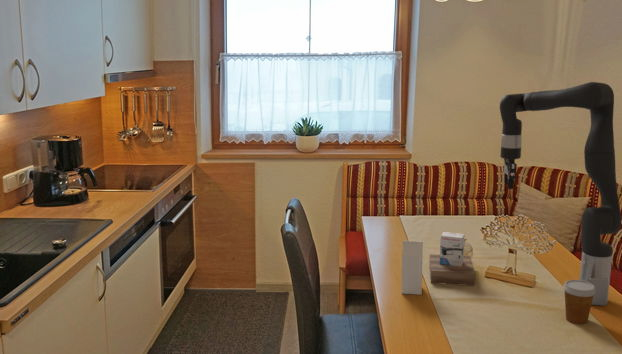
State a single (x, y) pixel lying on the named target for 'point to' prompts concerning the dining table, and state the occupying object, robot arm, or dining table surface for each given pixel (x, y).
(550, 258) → the dining table surface
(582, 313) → the disposable coffee cup
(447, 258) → the ink box
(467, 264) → the walnut block
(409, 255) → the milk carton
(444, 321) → the dining table surface
